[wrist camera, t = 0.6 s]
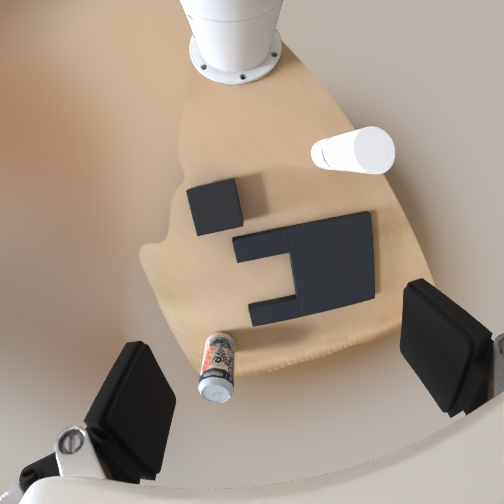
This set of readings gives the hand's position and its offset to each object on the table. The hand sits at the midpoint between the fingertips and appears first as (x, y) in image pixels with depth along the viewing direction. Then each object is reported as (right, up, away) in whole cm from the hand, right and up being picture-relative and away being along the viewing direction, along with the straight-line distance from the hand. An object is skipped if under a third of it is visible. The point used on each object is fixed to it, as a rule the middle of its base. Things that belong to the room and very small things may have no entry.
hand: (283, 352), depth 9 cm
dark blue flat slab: (+7, +1, +31) cm, 32 cm away
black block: (-6, +10, +28) cm, 30 cm away
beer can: (-6, -12, +35) cm, 37 cm away
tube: (+9, +17, +26) cm, 32 cm away
